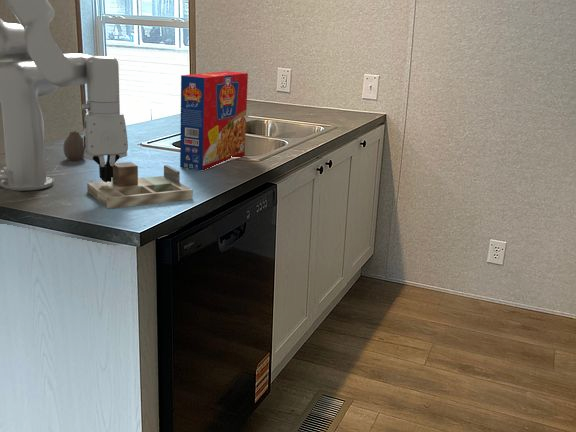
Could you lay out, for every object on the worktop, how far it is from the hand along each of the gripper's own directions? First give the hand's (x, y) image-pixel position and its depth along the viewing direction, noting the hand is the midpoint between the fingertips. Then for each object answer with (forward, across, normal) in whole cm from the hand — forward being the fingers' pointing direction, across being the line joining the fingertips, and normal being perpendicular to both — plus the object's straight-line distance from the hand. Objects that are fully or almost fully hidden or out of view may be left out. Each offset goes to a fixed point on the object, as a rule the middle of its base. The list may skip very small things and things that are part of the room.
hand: (106, 180), depth 161 cm
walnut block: (+1, +5, 0) cm, 5 cm away
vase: (+4, +4, +42) cm, 43 cm away
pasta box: (+4, +44, +27) cm, 52 cm away
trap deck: (+4, +7, -4) cm, 9 cm away
